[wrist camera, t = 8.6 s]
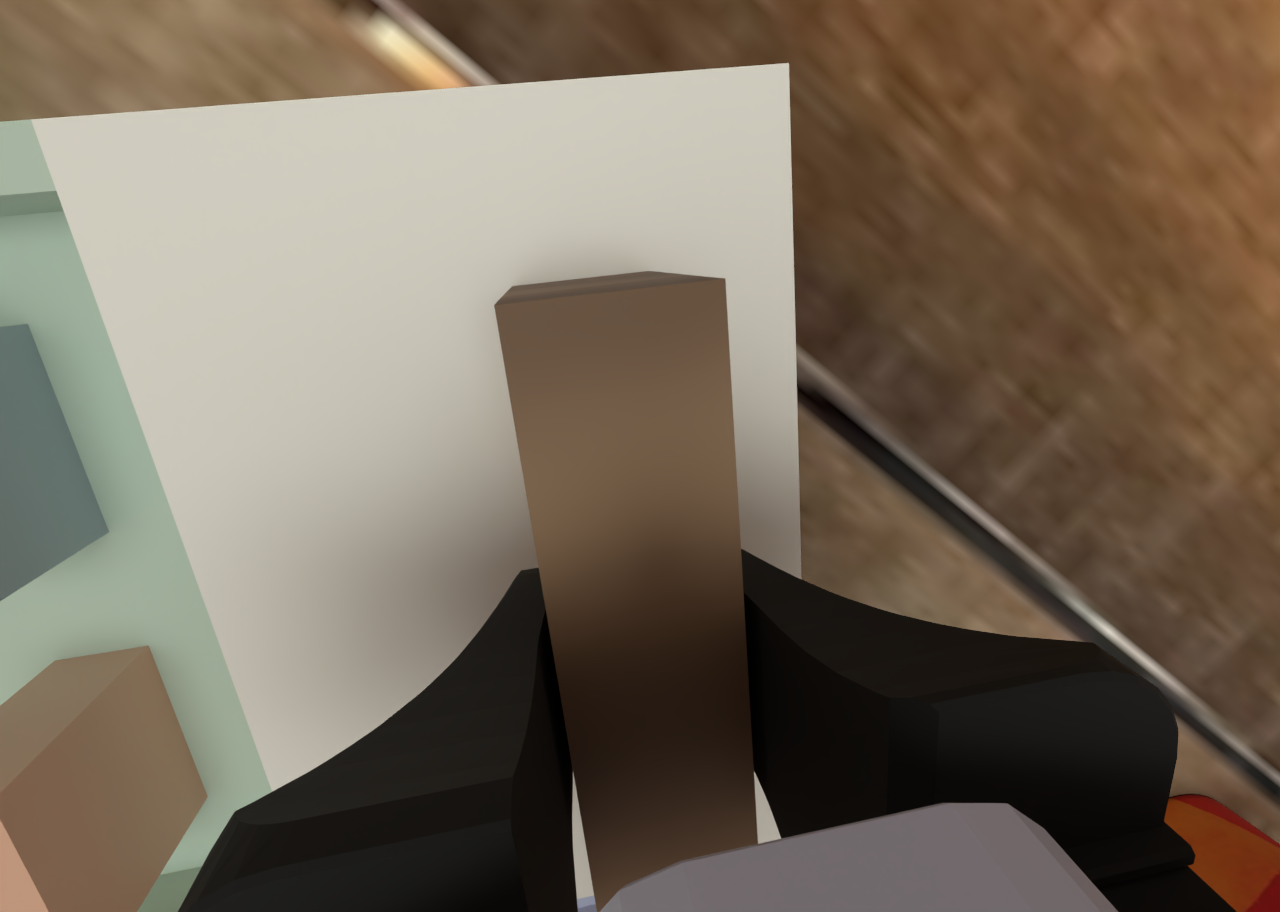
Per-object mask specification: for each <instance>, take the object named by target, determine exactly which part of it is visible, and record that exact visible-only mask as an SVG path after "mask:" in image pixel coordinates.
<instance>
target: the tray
mask: <svg viewBox="0 0 1280 912" xmlns="http://www.w3.org/2000/svg"><path fill="white" fill-rule="evenodd" d="M21 324H28V325H29V328H30V331H31V333H32V336H33V338H34V341H35V343H36V346H37V349H38V351H39V354H40V356H41V359H42V361H43V364H44V366H45V369H46V372H47V374H48V377H49V379H50V382H51V384H52V387H53V390H54V392H55V395H56V397H57V400H58V402H59V405H60V407H61V410H62V413H63V415H64V418H65V420H66V423H67V425H68V428H69V431H70V433H71V436H72V438H73V441H74V443H75V446H76V448H77V451H78V454H79V456H80V459H81V461H82V464H83V466H84V469H85V472H86V474H87V477H88V479H89V482H90V484H91V487H92V489H93V492H94V495H95V497H96V500H97V502H98V505H99V507H100V510H101V512H102V515H103V518H104V520H105V523H106V525H107V528H108V530H109V532H108V533H107V534H105V535H104V536H102V537H100V538H99V539H97V540H96V541H94V542H93V543H91V544H89V545H88V546H86V547H85V548H83V549H82V550H80V551H78V552H77V553H75V554H74V555H72V556H71V557H69V558H67V559H66V560H64V561H63V562H61V563H60V564H58V565H56V566H55V567H53V568H52V569H50V570H49V571H47V572H45V573H44V574H42V575H41V576H39V577H38V578H36V579H34V580H33V581H31V582H30V583H28V584H27V585H25V586H23V587H22V588H20V589H19V590H17V591H16V592H14V593H12V594H11V595H9V596H8V597H6V598H5V599H3V600H1V601H0V706H1V705H2V704H3V703H4V702H5V701H7V700H8V699H9V698H10V697H11V696H13V695H14V694H15V693H16V692H17V691H19V690H20V689H21V688H22V687H23V686H25V685H26V684H27V683H28V682H29V681H31V680H32V679H33V678H34V677H35V676H37V675H38V674H39V673H40V672H41V671H43V670H44V669H45V668H46V667H47V666H49V665H50V664H51V663H52V662H54V661H55V660H61V659H67V658H74V657H80V656H86V655H92V654H99V653H105V652H111V651H118V650H124V649H130V648H136V647H143V646H149V648H150V650H151V653H152V655H153V658H154V660H155V663H156V666H157V668H158V671H159V673H160V676H161V678H162V681H163V683H164V686H165V689H166V691H167V694H168V696H169V699H170V701H171V704H172V706H173V709H174V712H175V714H176V717H177V719H178V722H179V724H180V727H181V729H182V732H183V735H184V737H185V740H186V742H187V745H188V747H189V750H190V752H191V755H192V758H193V760H194V763H195V765H196V768H197V770H198V773H199V775H200V778H201V781H202V783H203V786H204V788H205V791H206V793H207V796H208V797H207V799H206V800H205V802H204V804H203V805H202V807H201V809H200V810H199V812H198V813H197V815H196V817H195V818H194V820H193V822H192V823H191V825H190V826H189V828H188V830H187V831H186V833H185V835H184V836H183V838H182V839H181V841H180V843H179V844H178V846H177V848H176V849H175V851H174V853H173V854H172V856H171V857H170V859H169V861H168V862H167V864H166V866H165V867H164V869H163V870H162V872H161V874H160V875H159V877H158V879H157V880H156V882H155V883H154V885H153V887H152V888H151V890H150V892H149V893H148V895H147V897H146V898H145V900H144V901H143V903H142V905H141V906H140V908H139V910H138V911H137V912H178V910H179V908H180V907H181V905H182V903H183V901H184V899H185V897H186V895H187V894H188V892H189V890H190V888H191V886H192V884H193V882H194V880H195V879H196V877H197V875H198V873H199V871H200V869H201V867H202V865H203V864H204V862H205V860H206V858H207V856H208V854H209V852H210V851H211V849H212V847H213V846H214V844H215V842H216V841H217V839H218V838H219V836H220V834H221V833H222V831H223V829H224V828H225V826H226V825H227V823H228V821H229V820H230V818H231V817H232V815H233V813H234V812H235V811H236V810H238V809H240V808H242V807H244V806H246V805H248V804H250V803H252V802H254V801H256V800H258V799H260V798H262V797H263V796H265V795H267V794H269V793H271V792H272V790H271V787H270V784H269V781H268V779H267V776H266V773H265V770H264V768H263V765H262V762H261V759H260V756H259V754H258V751H257V748H256V745H255V742H254V740H253V737H252V734H251V731H250V729H249V726H248V723H247V720H246V717H245V715H244V712H243V709H242V706H241V703H240V701H239V698H238V695H237V692H236V690H235V687H234V684H233V681H232V678H231V676H230V673H229V670H228V667H227V664H226V662H225V659H224V656H223V653H222V651H221V648H220V645H219V642H218V639H217V637H216V634H215V631H214V628H213V626H212V623H211V620H210V617H209V614H208V612H207V609H206V606H205V603H204V600H203V598H202V595H201V592H200V589H199V587H198V584H197V581H196V578H195V575H194V573H193V570H192V567H191V564H190V561H189V559H188V556H187V553H186V550H185V548H184V545H183V542H182V539H181V536H180V534H179V531H178V528H177V525H176V522H175V520H174V517H173V514H172V511H171V509H170V506H169V503H168V500H167V497H166V495H165V492H164V489H163V486H162V483H161V481H160V478H159V475H158V472H157V470H156V467H155V464H154V461H153V458H152V456H151V453H150V450H149V447H148V444H147V442H146V439H145V436H144V433H143V431H142V428H141V425H140V422H139V419H138V417H137V414H136V411H135V408H134V405H133V403H132V400H131V397H130V394H129V392H128V389H127V386H126V383H125V380H124V378H123V375H122V372H121V369H120V366H119V364H118V361H117V358H116V355H115V353H114V350H113V347H112V344H111V341H110V339H109V336H108V333H107V330H106V327H105V325H104V322H103V319H102V316H101V314H100V311H99V308H98V305H97V302H96V300H95V297H94V294H93V291H92V288H91V286H90V283H89V280H88V277H87V275H86V272H85V269H84V266H83V263H82V261H81V258H80V255H79V252H78V249H77V247H76V244H75V241H74V238H73V236H72V233H71V230H70V227H69V224H68V222H67V219H66V216H65V213H64V211H63V208H62V205H61V202H60V199H59V197H58V194H57V191H56V188H55V185H54V183H53V180H52V177H51V174H50V172H49V169H48V166H47V163H46V160H45V158H44V155H43V152H42V149H41V146H40V144H39V141H38V138H37V135H36V133H35V130H34V127H33V124H32V121H31V120H19V121H6V122H0V327H2V326H12V325H21Z"/></svg>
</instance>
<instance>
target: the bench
mask: <svg viewBox="0 0 1280 912" xmlns="http://www.w3.org/2000/svg"><path fill="white" fill-rule="evenodd" d="M31 121H32V124H33V127H34V130H35V133H36V135H37V138H38V141H39V144H40V146H41V149H42V152H43V155H44V158H45V160H46V163H47V166H48V169H49V172H50V174H51V177H52V180H53V183H54V185H55V188H56V191H57V194H58V197H59V199H60V202H61V205H62V208H63V211H64V213H65V216H66V219H67V222H68V224H69V227H70V230H71V233H72V236H73V238H74V241H75V244H76V247H77V249H78V252H79V255H80V258H81V261H82V263H83V266H84V269H85V272H86V275H87V277H88V280H89V283H90V286H91V288H92V291H93V294H94V297H95V300H96V302H97V305H98V308H99V311H100V314H101V316H102V319H103V322H104V325H105V327H106V330H107V333H108V336H109V339H110V341H111V344H112V347H113V350H114V353H115V355H116V358H117V361H118V364H119V366H120V369H121V372H122V375H123V378H124V380H125V383H126V386H127V389H128V392H129V394H130V397H131V400H132V403H133V405H134V408H135V411H136V414H137V417H138V419H139V422H140V425H141V428H142V431H143V433H144V436H145V439H146V442H147V444H148V447H149V450H150V453H151V456H152V458H153V461H154V464H155V467H156V470H157V472H158V475H159V478H160V481H161V483H162V486H163V489H164V492H165V495H166V497H167V500H168V503H169V506H170V509H171V511H172V514H173V517H174V520H175V522H176V525H177V528H178V531H179V534H180V536H181V539H182V542H183V545H184V548H185V550H186V553H187V556H188V559H189V561H190V564H191V567H192V570H193V573H194V575H195V578H196V581H197V584H198V587H199V589H200V592H201V595H202V598H203V600H204V603H205V606H206V609H207V612H208V614H209V617H210V620H211V623H212V626H213V628H214V631H215V634H216V637H217V639H218V642H219V645H220V648H221V651H222V653H223V656H224V659H225V662H226V664H227V667H228V670H229V673H230V676H231V678H232V681H233V684H234V687H235V690H236V692H237V695H238V698H239V701H240V703H241V706H242V709H243V712H244V715H245V717H246V720H247V723H248V726H249V729H250V731H251V734H252V737H253V740H254V742H255V745H256V748H257V751H258V754H259V756H260V759H261V762H262V765H263V768H264V770H265V773H266V776H267V779H268V781H269V784H270V787H271V790H272V792H273V791H274V790H276V789H278V788H280V787H282V786H284V785H285V784H287V783H289V782H291V781H293V780H295V779H296V778H298V777H300V776H302V775H304V774H306V773H307V772H309V771H311V770H312V769H314V768H316V767H318V766H319V765H321V764H323V763H324V762H326V761H327V760H329V759H331V758H332V757H334V756H335V755H337V754H338V753H340V752H341V751H343V750H345V749H346V748H348V747H349V746H351V745H352V744H354V743H355V742H357V741H358V740H360V739H361V738H363V737H364V736H365V735H367V734H368V733H370V732H371V731H373V730H374V729H375V728H377V727H378V726H380V725H381V724H382V723H383V722H385V721H386V720H387V719H388V718H390V717H391V716H392V715H393V714H395V713H396V712H397V711H398V710H400V709H401V708H402V707H403V706H405V705H406V704H407V703H408V702H410V701H411V700H412V699H413V698H415V697H416V696H417V695H418V694H420V693H421V692H422V691H423V690H424V689H425V688H426V687H427V686H429V685H430V684H431V683H432V682H433V681H434V680H435V679H436V678H437V677H438V676H439V675H440V674H441V673H442V672H443V671H444V670H445V669H446V668H447V667H448V666H449V665H450V664H451V663H452V662H453V661H454V660H455V659H456V658H457V657H458V656H459V655H460V653H461V652H462V651H463V650H464V649H465V647H466V646H467V645H468V644H469V643H470V641H471V640H472V639H473V638H474V637H475V635H476V634H477V633H478V632H479V630H480V629H481V628H482V626H483V625H484V623H485V622H486V621H487V619H488V618H489V617H490V615H491V614H492V612H493V611H494V610H495V608H496V607H497V605H498V604H499V602H500V601H501V599H502V598H503V596H504V595H505V593H506V592H507V590H508V588H509V587H510V585H511V584H512V582H513V580H514V579H515V577H516V576H517V575H518V574H519V572H520V571H521V570H527V569H533V568H539V567H538V561H537V555H536V549H535V543H534V537H533V531H532V526H531V520H530V514H529V508H528V502H527V496H526V490H525V484H524V478H523V472H522V467H521V461H520V455H519V449H518V443H517V437H516V431H515V425H514V419H513V413H512V408H511V402H510V396H509V390H508V384H507V378H506V372H505V366H504V360H503V354H502V349H501V343H500V337H499V331H498V325H497V319H496V313H495V307H494V305H495V304H496V302H497V301H498V300H499V299H500V298H501V297H502V296H503V295H504V294H505V293H506V292H507V291H508V290H509V289H510V288H511V287H512V286H518V285H527V284H536V283H545V282H554V281H563V280H572V279H581V278H590V277H599V276H608V275H617V274H626V273H635V272H644V271H655V272H665V273H675V274H685V275H695V276H705V277H715V278H725V281H726V298H727V315H728V333H729V350H730V367H731V385H732V402H733V419H734V436H735V454H736V471H737V488H738V506H739V523H740V540H741V549H743V550H745V551H747V552H749V553H751V554H752V555H754V556H756V557H758V558H760V559H762V560H764V561H765V562H767V563H769V564H771V565H773V566H775V567H777V568H779V569H781V570H783V571H785V572H787V573H789V574H791V575H793V576H795V577H797V578H799V579H801V580H802V574H801V534H800V494H799V454H798V413H797V373H796V333H795V292H794V252H793V212H792V171H791V131H790V91H789V63H784V64H771V65H757V66H744V67H731V68H717V69H704V70H690V71H677V72H663V73H650V74H637V75H623V76H610V77H596V78H583V79H570V80H556V81H543V82H529V83H516V84H502V85H489V86H476V87H462V88H449V89H435V90H422V91H408V92H395V93H382V94H368V95H355V96H341V97H328V98H314V99H301V100H288V101H274V102H261V103H247V104H234V105H220V106H207V107H194V108H180V109H167V110H153V111H140V112H126V113H113V114H100V115H86V116H73V117H59V118H46V119H33V120H31ZM754 782H755V800H756V817H757V834H758V844H759V843H764V842H768V841H773V840H777V839H781V836H780V834H779V831H778V828H777V825H776V823H775V820H774V817H773V814H772V811H771V809H770V806H769V803H768V801H767V799H766V796H765V794H764V792H763V789H762V787H761V785H760V782H759V780H758V778H757V776H756V774H755V772H754ZM572 835H573V855H574V868H575V881H576V894H577V899H580V898H585V897H589V896H594V892H593V886H592V880H591V874H590V868H589V862H588V856H587V850H586V844H585V838H584V833H583V827H582V821H581V815H580V809H579V803H578V797H577V791H576V785H575V779H574V773H573V798H572Z"/></svg>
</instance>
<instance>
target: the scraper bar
mask: <svg viewBox="0 0 1280 912" xmlns="http://www.w3.org/2000/svg"><path fill="white" fill-rule="evenodd" d="M494 307H495V313H496V319H497V325H498V331H499V337H500V343H501V349H502V354H503V360H504V366H505V372H506V378H507V384H508V390H509V396H510V402H511V408H512V413H513V419H514V425H515V431H516V437H517V443H518V449H519V455H520V461H521V467H522V472H523V478H524V484H525V490H526V496H527V502H528V508H529V514H530V520H531V526H532V531H533V537H534V543H535V549H536V555H537V561H538V567H539V573H540V579H541V585H542V591H543V596H544V602H545V608H546V614H547V620H548V626H549V632H550V638H551V644H552V650H553V655H554V661H555V667H556V673H557V679H558V685H559V691H560V697H561V703H562V709H563V714H564V720H565V726H566V732H567V738H568V744H569V750H570V756H571V762H572V768H573V773H574V779H575V785H576V791H577V797H578V803H579V809H580V815H581V821H582V827H583V833H584V838H585V844H586V850H587V856H588V862H589V868H590V874H591V880H592V886H593V892H594V897H595V903H596V909H597V912H600V911H601V910H602V909H603V907H604V906H605V905H606V904H607V903H608V902H609V901H610V900H611V899H612V898H613V897H614V895H615V894H616V893H617V892H618V891H619V890H620V889H621V888H622V887H624V886H625V885H627V884H629V883H631V882H633V881H636V880H638V879H640V878H643V877H645V876H647V875H650V874H652V873H654V872H656V871H659V870H661V869H663V868H666V867H668V866H670V865H672V864H675V863H677V862H679V861H683V860H687V859H692V858H696V857H701V856H705V855H710V854H714V853H719V852H723V851H728V850H732V849H737V848H741V847H746V846H750V845H755V844H758V834H757V817H756V800H755V782H754V765H753V748H752V730H751V713H750V696H749V678H748V661H747V644H746V627H745V609H744V592H743V575H742V557H741V540H740V523H739V506H738V488H737V471H736V454H735V436H734V419H733V402H732V385H731V367H730V350H729V333H728V315H727V298H726V281H725V278H715V277H705V276H695V275H685V274H675V273H665V272H655V271H644V272H635V273H626V274H617V275H608V276H599V277H590V278H581V279H572V280H563V281H554V282H545V283H536V284H527V285H518V286H512V287H511V288H510V289H509V290H508V291H507V292H506V293H505V294H504V295H503V296H502V297H501V298H500V299H499V300H498V301H497V302H496V304H495V305H494Z"/></svg>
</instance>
